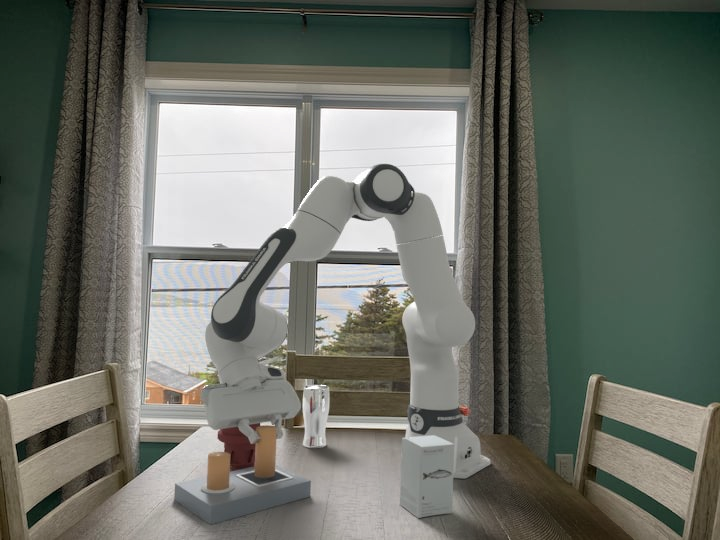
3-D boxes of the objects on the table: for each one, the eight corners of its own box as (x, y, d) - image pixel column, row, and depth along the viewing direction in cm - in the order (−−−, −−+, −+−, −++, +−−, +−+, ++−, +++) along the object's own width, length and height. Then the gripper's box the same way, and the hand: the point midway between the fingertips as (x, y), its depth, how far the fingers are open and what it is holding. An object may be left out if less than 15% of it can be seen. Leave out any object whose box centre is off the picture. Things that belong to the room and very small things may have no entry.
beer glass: (326, 449, 138) (329, 389, 139) (299, 448, 138) (301, 388, 139) (328, 442, 145) (330, 385, 146) (302, 441, 145) (304, 384, 146)
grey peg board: (269, 477, 116) (271, 434, 116) (310, 496, 106) (312, 449, 106) (174, 499, 102) (176, 450, 102) (210, 524, 92) (212, 469, 92)
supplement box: (418, 519, 97) (420, 446, 97) (398, 504, 103) (400, 436, 104) (453, 514, 99) (455, 443, 100) (432, 499, 106) (434, 433, 107)
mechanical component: (268, 463, 125) (251, 477, 115) (228, 459, 127) (207, 473, 117) (271, 409, 126) (254, 418, 116) (230, 406, 128) (210, 414, 118)
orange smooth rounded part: (267, 469, 110) (269, 424, 110) (279, 475, 107) (280, 428, 107) (250, 473, 107) (252, 427, 108) (261, 479, 104) (263, 431, 105)
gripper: (203, 376, 106) (226, 438, 98) (289, 369, 120) (316, 423, 112) (191, 396, 109) (213, 457, 101) (277, 387, 123) (302, 440, 115)
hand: (267, 439), depth 107 cm, fingers closed on orange smooth rounded part, 4 cm apart
